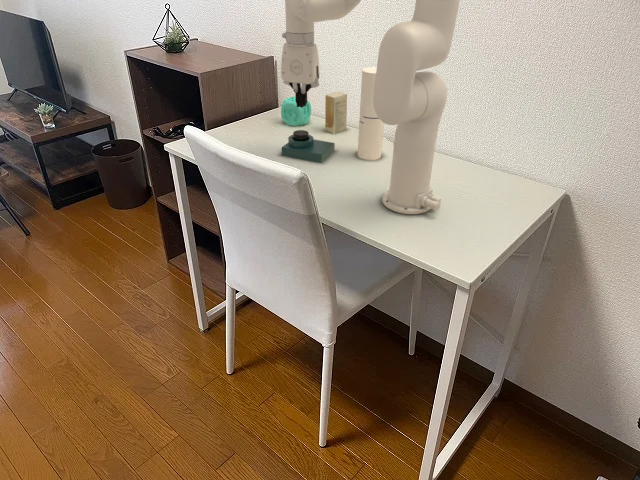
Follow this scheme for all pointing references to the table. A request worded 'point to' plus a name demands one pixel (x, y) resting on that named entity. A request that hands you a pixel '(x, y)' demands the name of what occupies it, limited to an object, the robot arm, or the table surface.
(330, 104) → the cosmetic box
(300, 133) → the button
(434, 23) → the robot arm
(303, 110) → the decorative dice
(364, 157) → the cylindrical container
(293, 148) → the base
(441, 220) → the table surface
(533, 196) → the table surface
